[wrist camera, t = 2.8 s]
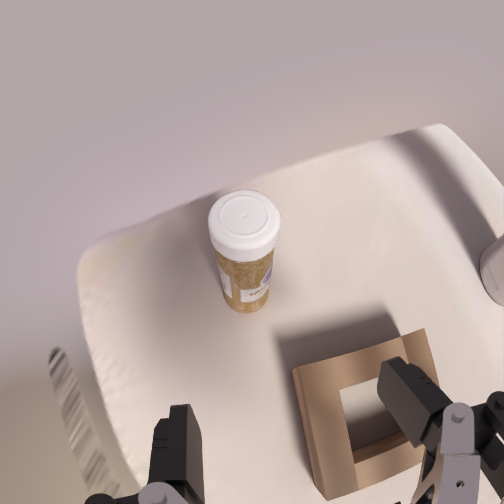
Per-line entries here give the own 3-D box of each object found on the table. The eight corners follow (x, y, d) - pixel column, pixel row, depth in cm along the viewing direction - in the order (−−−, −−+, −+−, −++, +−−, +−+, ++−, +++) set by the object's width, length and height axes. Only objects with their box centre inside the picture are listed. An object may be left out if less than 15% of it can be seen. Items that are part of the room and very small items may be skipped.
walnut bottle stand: (402, 338, 27) (424, 327, 23) (425, 442, 21) (449, 445, 17) (290, 370, 26) (298, 366, 22) (315, 486, 20) (326, 500, 16)
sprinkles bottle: (264, 317, 28) (276, 253, 16) (219, 309, 29) (197, 241, 17) (271, 275, 30) (285, 192, 18) (228, 268, 31) (216, 182, 19)
